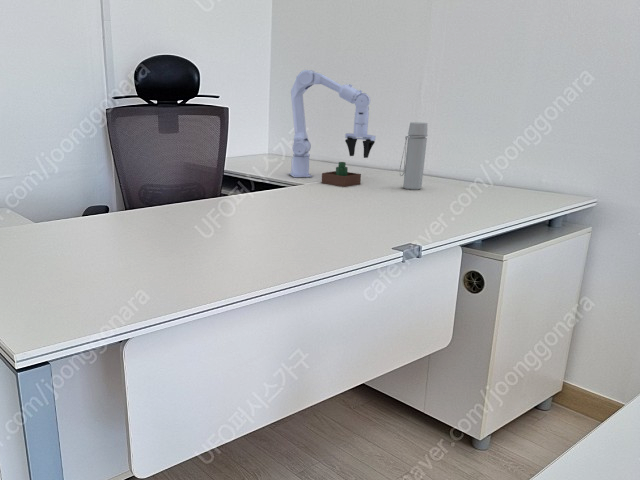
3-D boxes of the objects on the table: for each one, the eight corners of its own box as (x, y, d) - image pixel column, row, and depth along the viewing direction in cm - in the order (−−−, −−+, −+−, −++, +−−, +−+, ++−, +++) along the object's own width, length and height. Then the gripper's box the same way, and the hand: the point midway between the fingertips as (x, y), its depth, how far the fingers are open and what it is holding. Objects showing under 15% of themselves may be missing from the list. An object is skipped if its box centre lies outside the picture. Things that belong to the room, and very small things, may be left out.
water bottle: (419, 187, 238) (426, 122, 229) (423, 190, 231) (430, 123, 222) (396, 186, 239) (402, 122, 230) (399, 190, 232) (405, 123, 223)
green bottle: (333, 181, 247) (334, 161, 244) (344, 181, 248) (345, 161, 245) (337, 183, 243) (338, 163, 240) (348, 182, 244) (349, 163, 241)
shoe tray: (321, 182, 247) (322, 173, 245) (337, 180, 253) (338, 170, 252) (344, 186, 238) (344, 176, 237) (360, 184, 244) (361, 174, 243)
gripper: (381, 124, 246) (378, 157, 251) (353, 122, 256) (351, 154, 261) (370, 125, 242) (367, 159, 246) (342, 123, 252) (340, 155, 257)
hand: (358, 156), depth 253 cm, fingers open, 7 cm apart
